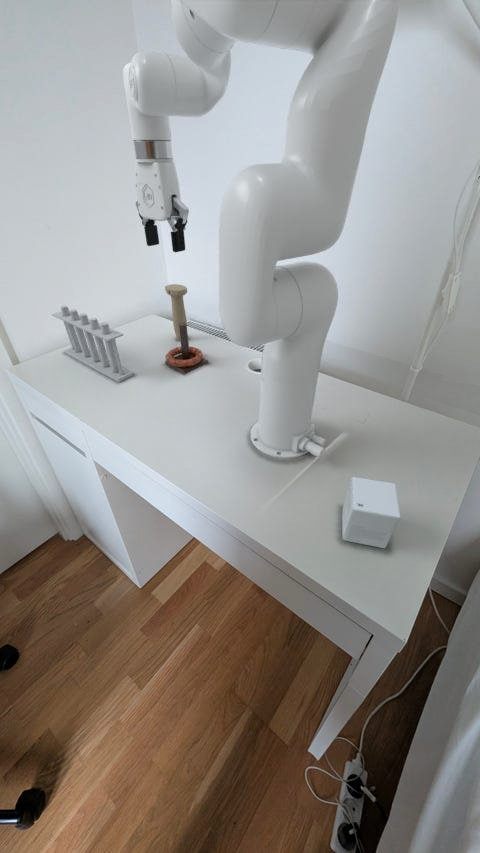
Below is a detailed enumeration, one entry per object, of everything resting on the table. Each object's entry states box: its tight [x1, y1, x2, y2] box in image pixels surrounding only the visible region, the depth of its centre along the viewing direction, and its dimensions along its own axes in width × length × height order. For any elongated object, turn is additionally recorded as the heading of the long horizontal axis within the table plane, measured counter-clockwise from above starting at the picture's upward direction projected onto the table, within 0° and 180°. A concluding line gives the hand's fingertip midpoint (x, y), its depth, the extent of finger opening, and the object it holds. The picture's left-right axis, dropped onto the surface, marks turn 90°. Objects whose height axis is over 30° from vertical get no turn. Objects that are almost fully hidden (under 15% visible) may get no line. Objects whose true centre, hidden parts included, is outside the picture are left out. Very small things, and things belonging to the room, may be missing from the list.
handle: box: [164, 283, 188, 342], centre depth 97 cm, size 5×6×15 cm
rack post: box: [164, 322, 209, 375], centre depth 86 cm, size 8×8×11 cm
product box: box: [341, 476, 401, 549], centre depth 48 cm, size 6×6×7 cm
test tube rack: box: [51, 305, 134, 383], centre depth 85 cm, size 25×4×13 cm, turn 51°
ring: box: [165, 345, 204, 367], centre depth 89 cm, size 10×10×2 cm
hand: (165, 248), depth 78 cm, fingers open, 9 cm apart
